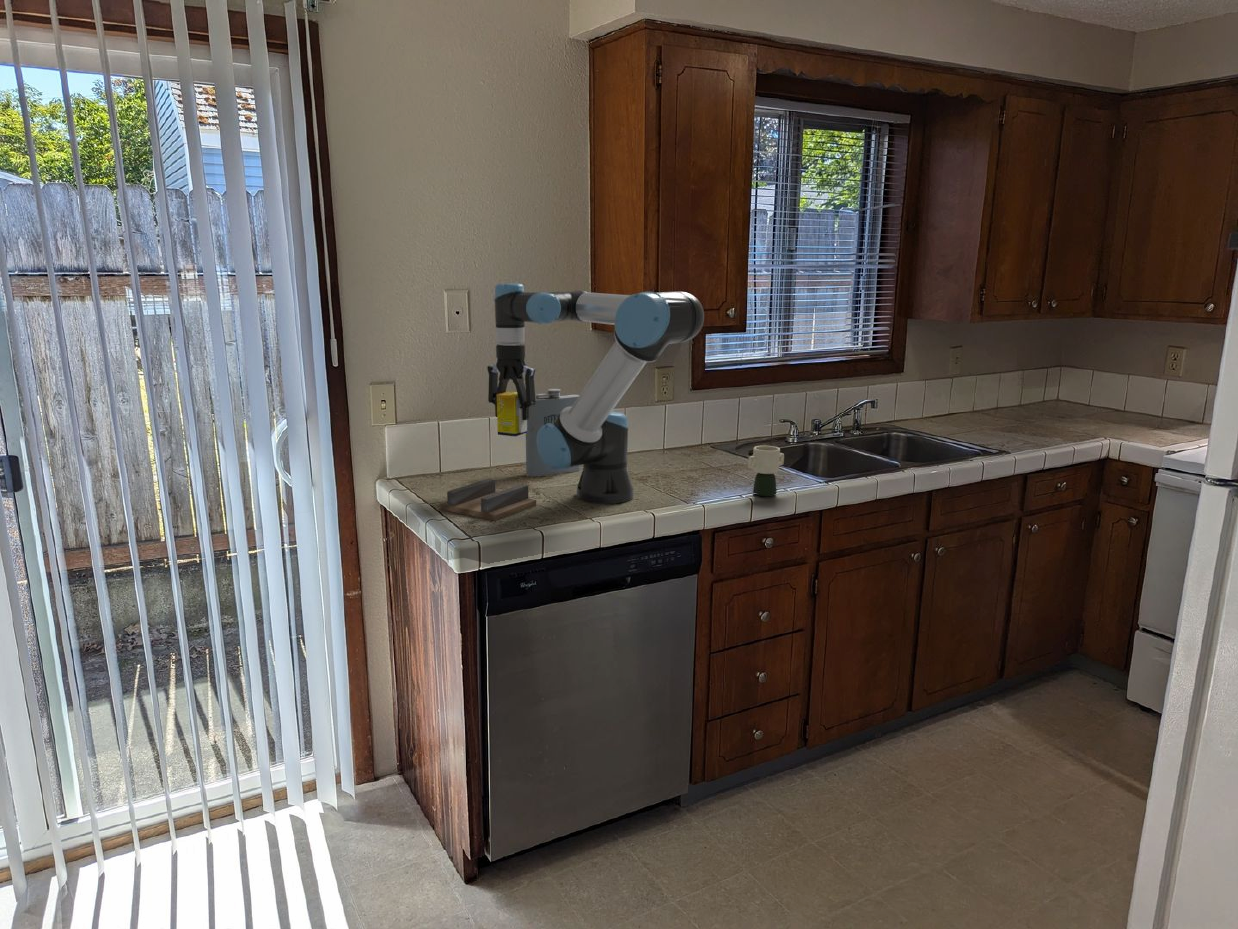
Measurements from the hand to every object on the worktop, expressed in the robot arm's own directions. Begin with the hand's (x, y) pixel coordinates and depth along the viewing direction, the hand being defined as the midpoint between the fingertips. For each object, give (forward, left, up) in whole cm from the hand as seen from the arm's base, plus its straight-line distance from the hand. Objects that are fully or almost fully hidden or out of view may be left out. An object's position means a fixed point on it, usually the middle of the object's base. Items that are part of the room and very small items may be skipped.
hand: (512, 430), depth 230 cm
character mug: (-59, -34, -17) cm, 70 cm away
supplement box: (0, 0, -1) cm, 1 cm away
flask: (+3, -23, -17) cm, 29 cm away
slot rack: (-5, +16, -17) cm, 24 cm away
